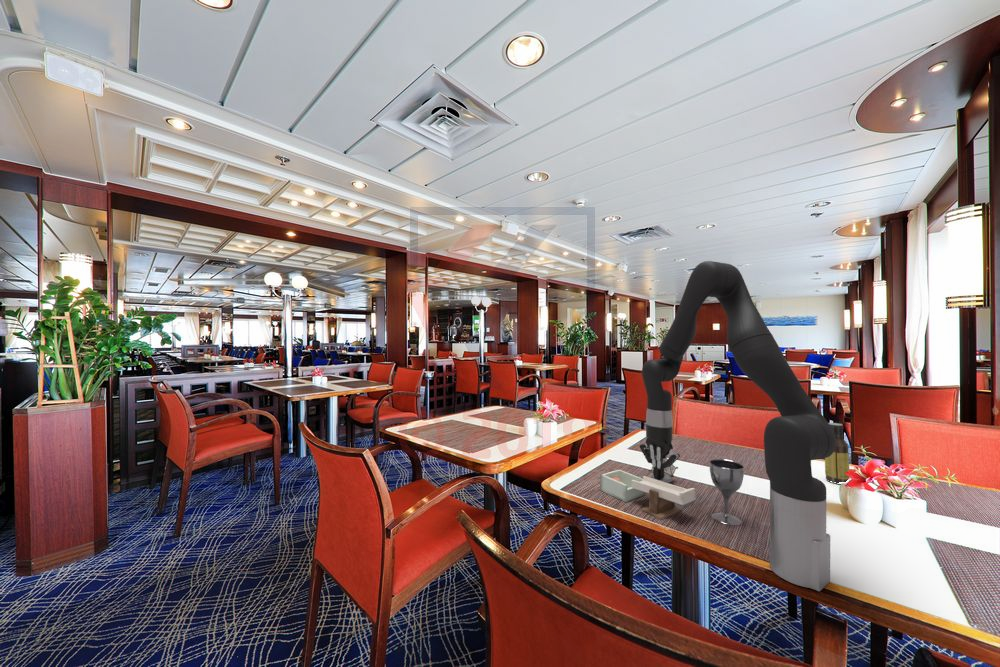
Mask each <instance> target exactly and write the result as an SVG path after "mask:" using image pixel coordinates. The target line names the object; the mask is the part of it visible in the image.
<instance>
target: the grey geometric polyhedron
mask: <svg viewBox="0 0 1000 667" xmlns="http://www.w3.org/2000/svg"><path fill="white" fill-rule="evenodd" d="M667 460H668V458H667ZM667 460H666V461H667ZM678 469H679V467H678V466H675V465H674V463H673V464H672V465H671V466H670V467H667V468H664V476H667V477H671V478H675V472H676V470H678ZM648 472H651V473H652V474H653V465H651V469H649V470H648Z"/></svg>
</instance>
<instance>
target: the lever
mask: <svg viewBox="0 0 1000 667" xmlns="http://www.w3.org/2000/svg"><path fill="white" fill-rule="evenodd" d="M642 479H643V481H640V482H638V481H635V480H632V488H634V489H637V490H640V491H643V492H645V494H646V493H647V494H649V490H650V489H652V490H654V491H657V492H659V497H661V498H663V499H666V500H669V501H672V502H675V506H676V507H679V508H682V510H683V509H686V508H688V507H690V506H692V505H693V504H694V501H696V500H697V499H696V488H694V487H691V488H685V487H681V486H678V485H675V484H672V483H670V482H674V477H672V478H671V477H667V476H664V478H663V479H661V480H657V479H655V478H654V476H653V477H649V476H645V475H643V476H642Z"/></svg>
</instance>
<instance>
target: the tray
mask: <svg viewBox="0 0 1000 667" xmlns="http://www.w3.org/2000/svg"><path fill="white" fill-rule="evenodd" d="M599 476H600V477H599V480H600V481H599V484H600V485H599V486H600V490H599V491H601V492H602V493H604V494H607V495H609V496H612V497H613V498H616V499H617V500H620V501H622V502H624V503H628V502H631V501H634V500H636V499H639V498H641V497H644V496H646V495H645V494H646V492H643V491H640V490H637V489H634V488H632V480H635V481H638V482H640V481H643V477H640V476H637V475H634V474H631V473H629V472H627V471H624V470H621V469H615V470H613V471H609V472H606V473H602V474H599ZM614 477H617V478H619V479H620V480H621V482H619V481H617V480H614V479H612V478H614Z"/></svg>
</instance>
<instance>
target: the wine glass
mask: <svg viewBox="0 0 1000 667" xmlns="http://www.w3.org/2000/svg"><path fill="white" fill-rule="evenodd" d="M744 470H745V466H744V465H743V464H741V463H740V462H737V461H735V460H731V459H722V458H714V459H710V460H709V473H710V479H711V481H712V483H713V485H714V486H715V488H716V489H717V490H718V491H719V492H720V494H721V495H722V498H723V502H724V512H723V511H722V512H721V511H719V512H718V511H717V512H712V513H711V518H712V519H713V520H714V521H716V522H717V523H721V524H723V525H728V526H740V525H742V524H743V521H742V519H740V517H738V516H736V515H733V514H731V513H729V504H730V503H729V501H730V499H731V497H732V496H733V494H735V493H736V492H738V490H740V489H741V487H742V486H743V480H744V477H745V476H744V475H745V474H744V473H745V471H744Z"/></svg>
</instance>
